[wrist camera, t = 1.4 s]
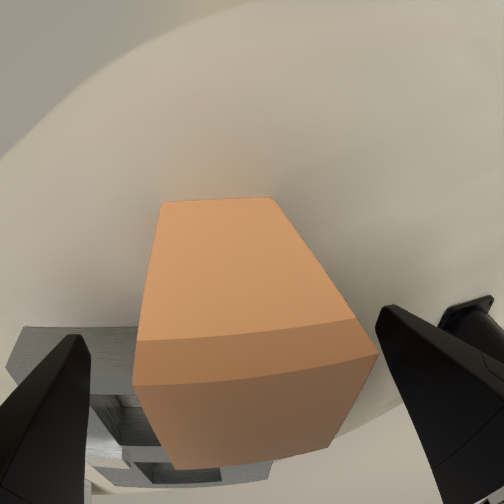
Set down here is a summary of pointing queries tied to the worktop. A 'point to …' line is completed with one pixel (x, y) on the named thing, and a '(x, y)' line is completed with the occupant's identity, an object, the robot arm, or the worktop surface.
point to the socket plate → (121, 414)
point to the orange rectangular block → (243, 338)
